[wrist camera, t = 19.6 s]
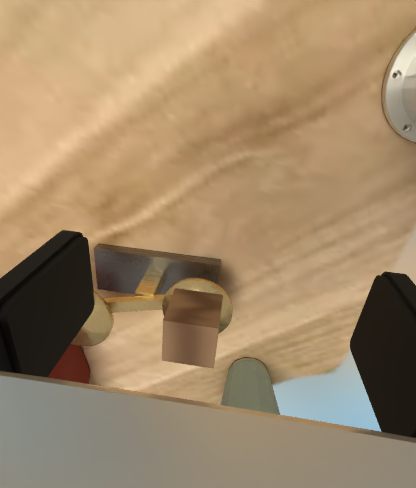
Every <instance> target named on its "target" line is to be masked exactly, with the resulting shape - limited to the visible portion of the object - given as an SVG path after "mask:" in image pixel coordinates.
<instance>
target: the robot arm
mask: <svg viewBox="0 0 416 488" xmlns="http://www.w3.org/2000/svg"><path fill="white" fill-rule="evenodd" d="M393 73H395V74H396V76H395V77H394V78H392V75H393ZM382 104H383V108H384V113H385V116H386V118H387V120H388V122H389V124H390V125H391V126H392V128H393V129H394V130H395V131H396V132H397V133H398V134H399V135H401V136H402V137H403V138H405V139H408V140H410V141H412V142H415V143H416V29H415V30H414V31H413V32H412V33H411V34H410V35H409V36H408V37H407V38H406V39H405V40H404V41H403V43H402V44H401V45H400V47H399V48H398V50H397V51H396V53H395V54H394V56H393V58H392V60H391V62H390V64H389V66H388V69H387V72H386V75H385V78H384V83H383V89H382ZM404 125H406V128H405V129H403V127H404ZM94 305H95V301H94V291H93V282H92V273H91V264H90V254H89V245H88V240H87V238H86V237H83V235H82V233H81V232H74V231H66V230H62V231H61V232H59V233H58V234H57V235H55V236H54V237H53V238H52V239H50V240H49V241H48V242H46V243H45V244H44V245H43V246H41V247H40V248H39V249H37V250H36V251H35V252H34V253H32V254H31V255H30V256H29V257H27V258H26V259H25V260H23V261H22V262H21V263H20V264H18V265H17V266H16V267H14V268H13V269H12V270H11V271H9V272H8V273H7V274H5V275H4V276H3V277H2V278H0V488H416V285H415V284H414V283H413V282H412V281H411V280H410V278H409V277H408V276H407V275H406V274H400V273H392V272H384V273H383V274H382V275H381V276H380V275H378V276H376V278H375V279H374V282H373V284H372V287H371V289H370V292H369V294H368V297H367V300H366V302H365V305H364V307H363V310H362V312H361V315H360V317H359V320H358V322H357V325H356V327H355V330H354V332H353V335H352V338H351V341H350V349H351V352H352V355H353V357H354V360H355V362H356V365H357V368H358V371H359V373H360V376H361V379H362V381H363V384H364V386H365V389H366V392H367V394H368V397H369V400H370V402H371V405H372V408H373V410H374V413H375V416H376V418H377V421H378V423H379V426H380V429H381V431H382V432H379V431H374V430H368V429H362V428H356V427H350V426H343V425H338V424H331V423H326V422H319V421H314V420H308V419H302V418H296V417H290V416H284V415H279V414H273V413H266V412H260V411H254V410H248V409H242V408H236V407H230V406H224V405H217V404H211V403H205V402H199V401H193V400H187V399H180V398H174V397H168V396H162V395H156V394H149V393H143V392H137V391H130V390H124V389H117V388H111V387H105V386H98V385H92V384H85V383H79V382H73V381H66V380H60V379H53V378H47V377H48V376H49V374H50V373H51V372H52V370H53V369H54V367H55V366H56V364H57V363H58V361H59V360H60V359H61V357H62V356H63V354H64V353H65V351H66V350H67V348H68V347H69V345H70V344H71V343H72V341H73V340H74V338H75V337H76V335H77V334H78V332H79V331H80V329H81V328H82V327H83V325H84V324H85V322H86V321H87V319H88V318H89V316H90V315H91V313H92V312H93V309H94Z"/></svg>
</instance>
